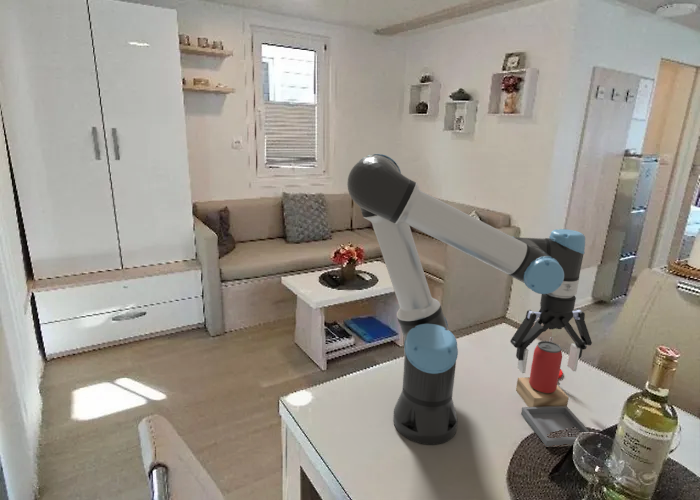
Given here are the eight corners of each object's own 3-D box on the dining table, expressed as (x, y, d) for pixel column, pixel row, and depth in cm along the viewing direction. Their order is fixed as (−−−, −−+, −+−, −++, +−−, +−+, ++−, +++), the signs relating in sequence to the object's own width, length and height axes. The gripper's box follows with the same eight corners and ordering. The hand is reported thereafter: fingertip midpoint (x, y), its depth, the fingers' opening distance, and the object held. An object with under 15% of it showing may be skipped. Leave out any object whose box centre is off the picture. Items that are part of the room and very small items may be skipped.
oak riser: (532, 411, 105) (534, 398, 104) (515, 390, 114) (517, 377, 113) (566, 410, 106) (568, 397, 105) (547, 389, 115) (549, 376, 113)
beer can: (524, 379, 112) (531, 339, 109) (549, 380, 112) (556, 340, 109) (534, 394, 106) (541, 352, 102) (560, 395, 106) (568, 353, 102)
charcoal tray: (545, 448, 93) (546, 440, 93) (521, 414, 104) (522, 407, 104) (594, 446, 94) (596, 438, 94) (565, 412, 105) (566, 405, 105)
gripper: (516, 300, 97) (506, 379, 103) (617, 297, 99) (601, 375, 105) (502, 288, 104) (493, 363, 110) (597, 286, 106) (583, 360, 112)
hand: (546, 369), depth 107 cm, fingers open, 13 cm apart
